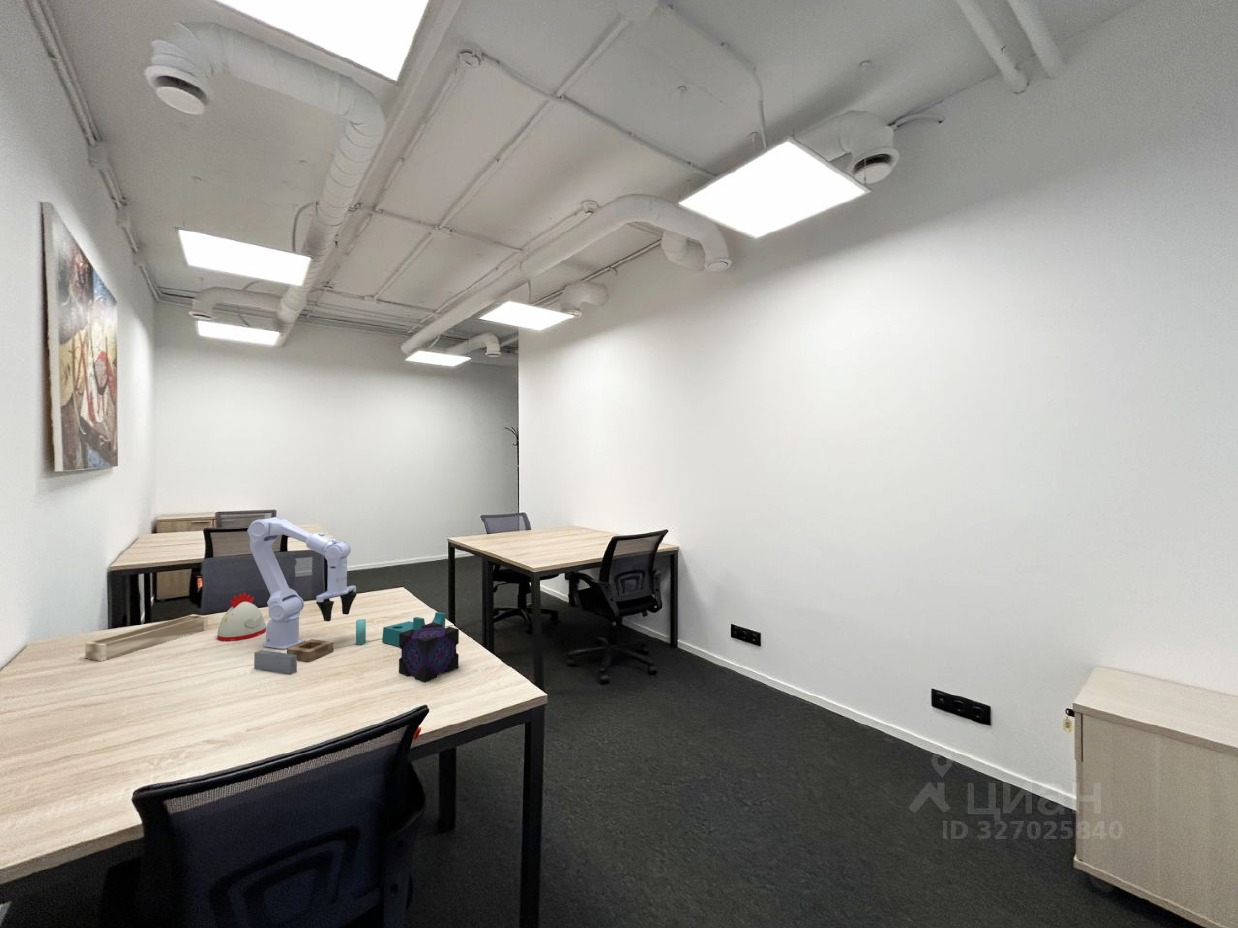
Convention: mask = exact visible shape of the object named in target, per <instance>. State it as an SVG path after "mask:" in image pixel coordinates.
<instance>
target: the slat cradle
mask: <svg viewBox="0 0 1238 928" xmlns="http://www.w3.org/2000/svg"><path fill="white" fill-rule="evenodd" d="M208 616H209V615H201V614H189V615H186V616H185V615H184V616H182V617H178V618H174V619H170V620H166V621H162V622H159V623H156V624H152V625H147V626H145V627H140V628H137V629H133V630H128V631H125V632H121V633H117V634H113V635H110V636H106V637H102V638H99V639H95V640H92V641H88V642H87V641H86V642H85V644H84V645H85V648H84V649H85V655H84V656H85V658H88V659H87V660H89V659H94V660H93V661H95V660H98V661H97V662H104V661H103V660H105V661H107V659H108V660H110V658H111V659H115V658H117V656H118V657H121V656H125V655H129V654H131V653H134V651H135V652H137V651H138V652H139V651H140V650H141V651H142V650H144V649H147V648H151V647H154V646H157V645H161V644H164V643H168V642H170V640H171V641H173V639H174V640H177V639H176V638H178V639H180V637H181V638H184V637H188V636H192V635H194V634H197V633H200V632H201V633H202V632H204V631H207V630H208ZM183 636H184V637H183ZM167 641H168V642H167ZM124 654H125V655H124ZM120 655H121V656H120ZM114 657H115V658H114Z"/></svg>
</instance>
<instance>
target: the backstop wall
mask: <svg viewBox="0 0 1238 928" xmlns="http://www.w3.org/2000/svg"><path fill="white" fill-rule="evenodd" d="M253 656H254V658H253V659H254V660H253V661H254V663H253V669H254V670H259V671H266V672H271V673H277V674H285V675H293V674H295V673H297V671H298V668H297V666H298V660H297V655H293V654H287V652H286V653H284V652H279V651H271V650H263V649H260V650H257V651H254V655H253Z"/></svg>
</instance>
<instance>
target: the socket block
mask: <svg viewBox="0 0 1238 928" xmlns="http://www.w3.org/2000/svg"><path fill="white" fill-rule="evenodd" d="M332 652H334V641H328V640H321V639H312V638H311V639H308V640H305V642H302V643H299V644H297V645H294V646H292V647H289V648H287V649H286V654H293V655H297V661H303V662H313V661H314V660H316V659H319V658H322V657H323V656H325V655H327V654H329V653H332Z"/></svg>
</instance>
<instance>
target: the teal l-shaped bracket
mask: <svg viewBox="0 0 1238 928" xmlns="http://www.w3.org/2000/svg"><path fill="white" fill-rule="evenodd" d="M446 617H447V613H445V612H439V611H438V612H435V613H434V617H433V620H432V621H430V623H432V622H434V623H438V624H442V627H444V628H446ZM423 625H426V622H425V618H424V617H418V616H414V617H413V620H412V621H410V620H409V621H405V622H401V623H395V624H391V625H387V626H384V627H382V638H381V639H382V641H381V642H382V643H384V644H387V645H388V644H389V645H392V646H395V647H396V646H397V647H399V633H402V632H405V631H408V630H411V629H413V630H418V629H421V626H423Z"/></svg>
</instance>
